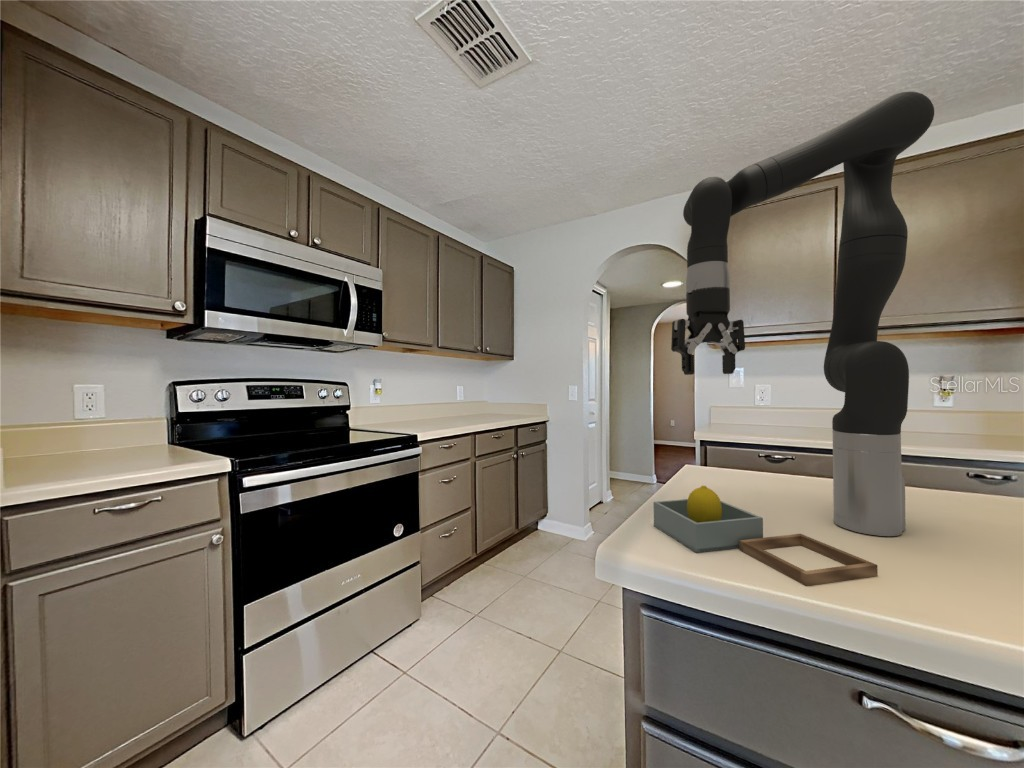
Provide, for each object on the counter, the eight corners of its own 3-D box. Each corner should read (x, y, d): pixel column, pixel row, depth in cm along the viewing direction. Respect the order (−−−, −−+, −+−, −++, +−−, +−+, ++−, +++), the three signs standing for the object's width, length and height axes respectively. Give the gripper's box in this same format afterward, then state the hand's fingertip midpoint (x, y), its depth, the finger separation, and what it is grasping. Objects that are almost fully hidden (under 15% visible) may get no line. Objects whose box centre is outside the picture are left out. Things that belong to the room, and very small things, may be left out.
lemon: (727, 538, 67) (726, 490, 67) (691, 536, 68) (690, 489, 68) (716, 526, 72) (716, 482, 72) (683, 525, 73) (683, 481, 73)
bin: (711, 520, 77) (711, 496, 77) (763, 545, 65) (762, 517, 65) (653, 525, 75) (653, 501, 75) (696, 553, 63) (696, 524, 63)
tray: (800, 542, 66) (800, 533, 66) (877, 575, 55) (877, 564, 55) (739, 549, 64) (739, 540, 64) (806, 585, 52) (806, 574, 52)
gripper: (725, 295, 82) (726, 374, 82) (662, 293, 79) (664, 375, 79) (754, 286, 75) (756, 373, 75) (686, 283, 72) (687, 374, 72)
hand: (708, 374), depth 77 cm, fingers open, 8 cm apart
